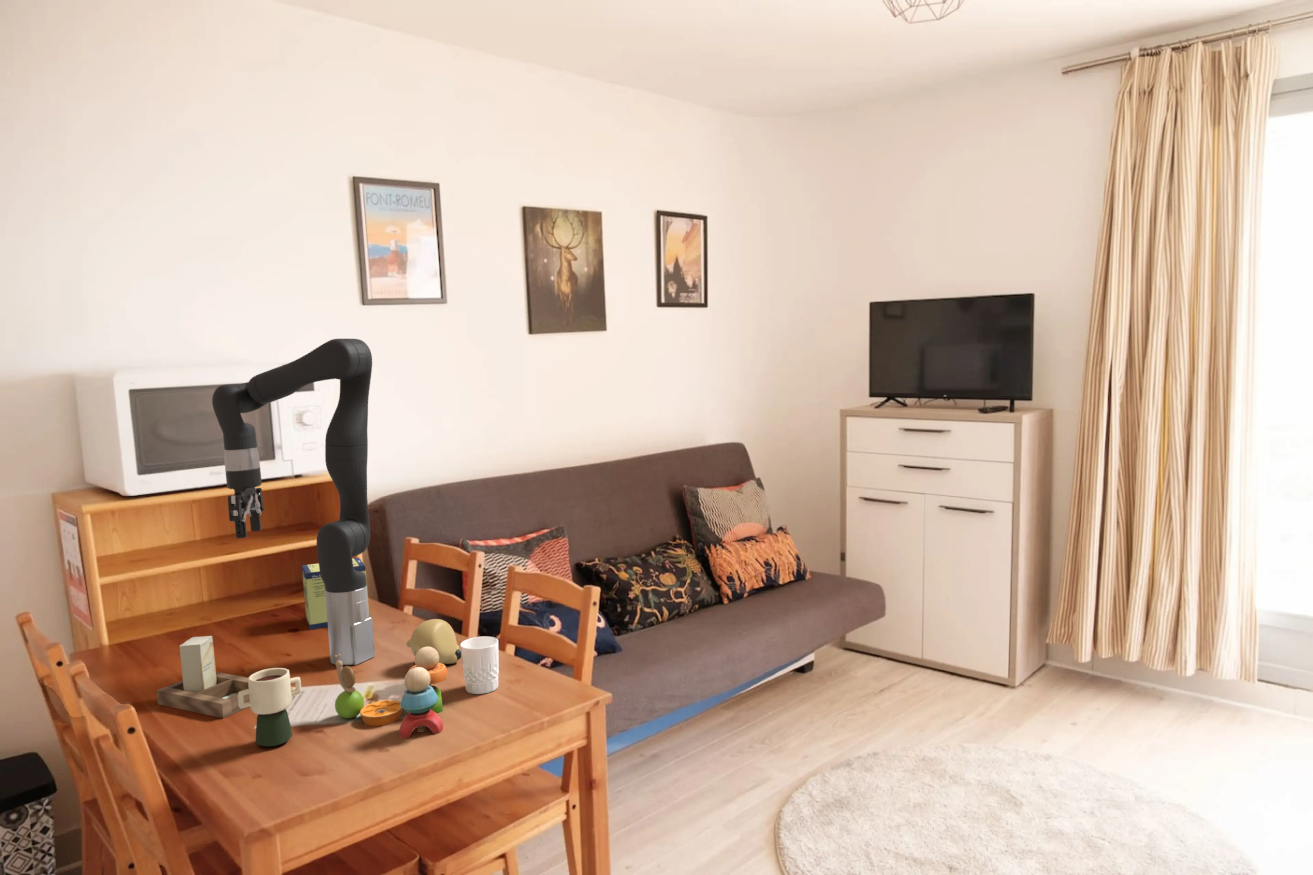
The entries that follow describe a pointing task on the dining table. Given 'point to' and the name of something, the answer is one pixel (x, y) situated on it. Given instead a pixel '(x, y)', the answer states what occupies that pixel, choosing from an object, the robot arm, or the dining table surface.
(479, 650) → the white cup
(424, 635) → the beige animal figurine
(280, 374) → the robot arm
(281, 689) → the character mug
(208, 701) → the wooden compartment tray
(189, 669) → the skincare box
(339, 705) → the snail figurine
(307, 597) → the protein box
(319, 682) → the dining table surface
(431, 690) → the wooden stacking toy
